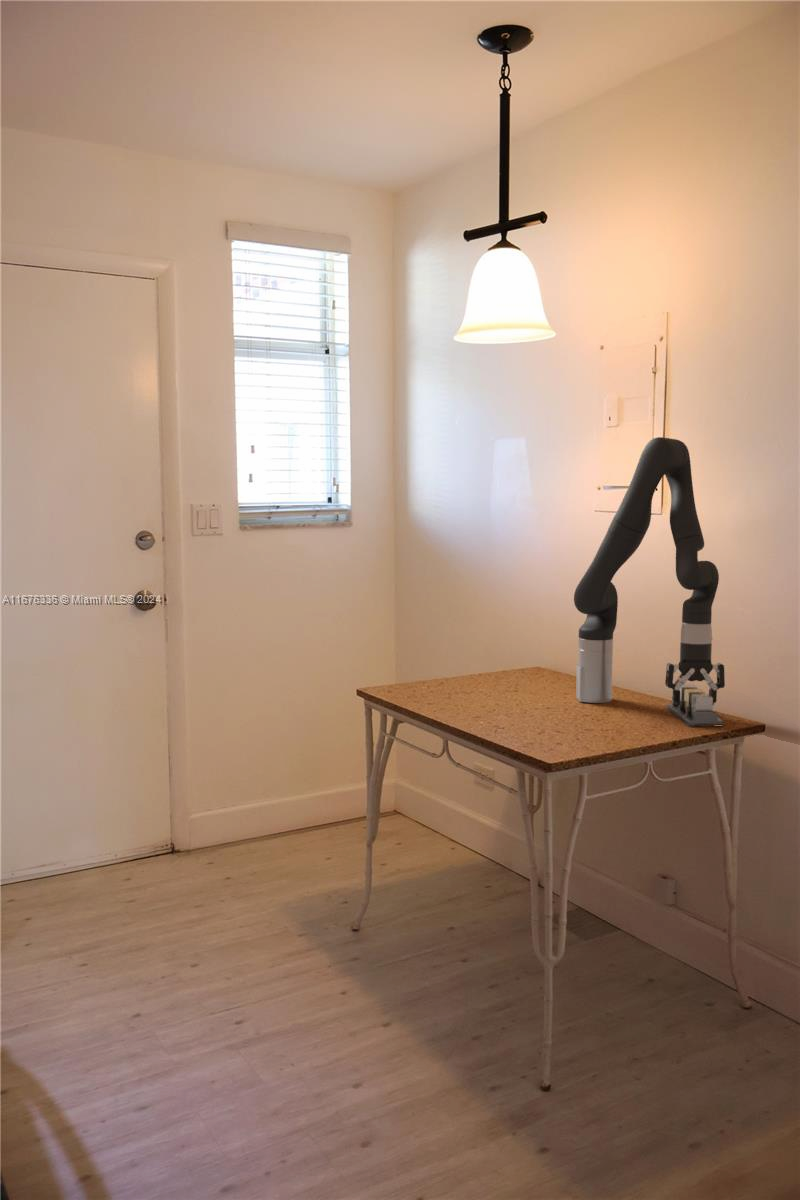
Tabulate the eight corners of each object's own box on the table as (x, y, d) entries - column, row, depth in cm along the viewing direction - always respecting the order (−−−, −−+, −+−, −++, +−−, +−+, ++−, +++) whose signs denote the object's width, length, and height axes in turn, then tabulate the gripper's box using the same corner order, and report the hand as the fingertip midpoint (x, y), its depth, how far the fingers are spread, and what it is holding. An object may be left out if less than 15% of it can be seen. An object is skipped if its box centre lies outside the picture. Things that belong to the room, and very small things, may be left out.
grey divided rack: (689, 726, 239) (690, 699, 238) (667, 708, 260) (668, 683, 259) (722, 726, 239) (723, 699, 238) (697, 708, 260) (698, 683, 259)
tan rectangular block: (683, 712, 251) (684, 689, 251) (699, 712, 251) (700, 689, 251) (688, 715, 247) (688, 692, 247) (704, 715, 247) (705, 692, 247)
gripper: (720, 638, 251) (718, 701, 253) (663, 638, 251) (662, 701, 253) (729, 642, 244) (727, 707, 245) (671, 642, 244) (669, 707, 245)
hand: (694, 704), depth 249 cm, fingers open, 8 cm apart
